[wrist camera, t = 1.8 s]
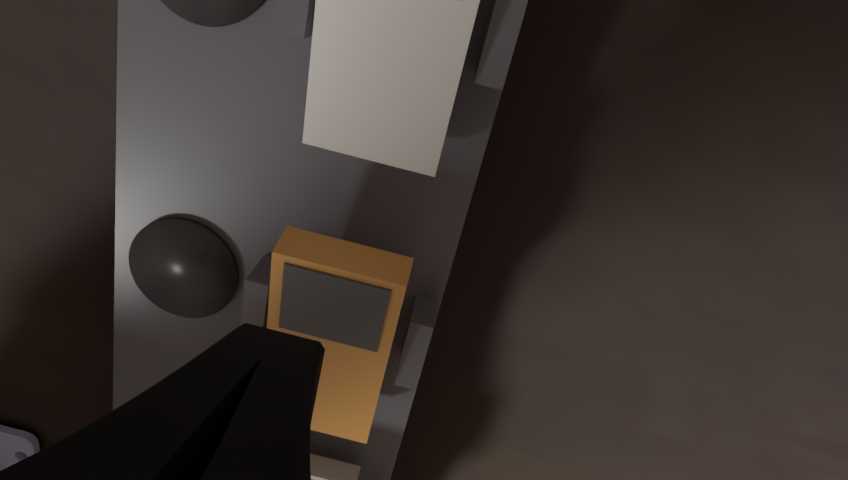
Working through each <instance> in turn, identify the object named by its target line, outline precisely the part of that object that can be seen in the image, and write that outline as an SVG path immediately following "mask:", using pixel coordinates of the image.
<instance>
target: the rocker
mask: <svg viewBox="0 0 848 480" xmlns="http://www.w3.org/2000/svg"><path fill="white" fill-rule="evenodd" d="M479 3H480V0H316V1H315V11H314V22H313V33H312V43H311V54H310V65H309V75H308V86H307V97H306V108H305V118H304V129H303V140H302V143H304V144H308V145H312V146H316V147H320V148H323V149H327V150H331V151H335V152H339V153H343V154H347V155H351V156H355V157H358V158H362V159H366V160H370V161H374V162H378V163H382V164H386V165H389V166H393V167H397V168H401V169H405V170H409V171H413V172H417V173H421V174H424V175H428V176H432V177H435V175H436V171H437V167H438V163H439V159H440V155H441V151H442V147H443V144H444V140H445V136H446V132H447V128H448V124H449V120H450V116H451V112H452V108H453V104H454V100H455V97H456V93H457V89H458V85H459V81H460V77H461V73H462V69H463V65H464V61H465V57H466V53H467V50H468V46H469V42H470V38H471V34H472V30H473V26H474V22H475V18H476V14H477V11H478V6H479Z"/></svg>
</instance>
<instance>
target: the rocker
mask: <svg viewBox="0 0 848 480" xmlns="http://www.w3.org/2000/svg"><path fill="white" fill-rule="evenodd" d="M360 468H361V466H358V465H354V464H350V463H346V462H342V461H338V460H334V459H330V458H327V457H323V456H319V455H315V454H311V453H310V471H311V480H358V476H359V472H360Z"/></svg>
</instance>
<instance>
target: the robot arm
mask: <svg viewBox="0 0 848 480" xmlns="http://www.w3.org/2000/svg"><path fill="white" fill-rule="evenodd" d="M324 353H325V348H324V347H323V346H322V344H321V343H320V342H319V341H315V340H311V339H308V338H304V337H300V336H296V335H292V334H288V333H284V332H280V331H276V330H272V329H268V328H264V327H260V326H256V325H252V324H248V323H244V324H242V325H240V326H239V327H237V328H236V329H234V330H233V331H231V332H230V333H229V334H227V335H226V336H224V337H223V338H222V339H220V340H219V341H217V342H216V343H215V344H213V345H212V346H210V347H209V348H208V349H206V350H205V351H203V352H202V353H200V354H199V355H198V356H196V357H195V358H193V359H192V360H190V361H189V362H187V363H186V364H185V365H183V366H182V367H180V368H179V369H177V370H176V371H174V372H173V373H171V374H170V375H168V376H167V377H165V378H163V379H162V380H160V381H159V382H157V383H156V384H154V385H153V386H151V387H150V388H148V389H147V390H145V391H144V392H142V393H140V394H139V395H137V396H136V397H134V398H133V399H131V400H129V401H128V402H126V403H124V404H123V405H121V406H119V407H117V408H116V409H114V410H112V411H111V412H109V413H107V414H106V415H104V416H102V417H100V418H99V419H97V420H95V421H94V422H92V423H90V424H89V425H87V426H85V427H83V428H82V429H80V430H78V431H76V432H75V433H73V434H71V435H69V436H67V437H65V438H64V439H62V440H60V441H58V442H56V443H54V444H52V445H51V446H49V447H47V448H45V449H43V450H41V451H40V447H39V441H38V439H37V438H36V436H35V435H33V434H32V433H30V432H27V431H23V430H19V429H15V428H11V427H7V426H3V425H0V480H311V471H310V427H311V420H312V415H313V410H314V405H315V400H316V394H317V389H318V384H319V379H320V374H321V368H322V363H323V358H324Z"/></svg>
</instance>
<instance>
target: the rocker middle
mask: <svg viewBox="0 0 848 480" xmlns="http://www.w3.org/2000/svg"><path fill="white" fill-rule="evenodd" d="M413 260H414V258H412V257H408V256H404V255H400V254H396V253H392V252H388V251H384V250H380V249H377V248H373V247H369V246H365V245H361V244H357V243H353V242H349V241H345V240H341V239H338V238H334V237H330V236H326V235H322V234H318V233H314V232H310V231H306V230H302V229H299V228H295V227H291V226H286V228H285V230H284V232H283V233H282V235H281V237H280V239H279V240H278V242H277V244H276V246H275V247H274V249H273V251H272V258H271V273H270V288H269V303H268V318H267V328H268V329H272V330H276V331H280V332H284V333H288V334H292V335H296V336H300V337H304V338H308V339H311V340H315V341H319V342H320V343H321V344H322V346H323V347H324V348H325V353H324V358H323V363H322V368H321V374H320V379H319V384H318V389H317V394H316V400H315V405H314V410H313V415H312V420H311V427H310V430H314V431H318V432H322V433H325V434H329V435H333V436H337V437H341V438H345V439H349V440H353V441H357V442H361V443H365V444H367V440H368V437H369V433H370V429H371V425H372V421H373V417H374V413H375V409H376V405H377V402H378V398H379V394H380V390H381V386H382V382H383V378H384V374H385V370H386V366H387V362H388V358H389V355H390V351H391V347H392V343H393V339H394V335H395V331H396V327H397V323H398V319H399V315H400V311H401V307H402V304H403V300H404V296H405V292H406V288H407V284H408V280H409V276H410V272H411V268H412V264H413Z"/></svg>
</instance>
